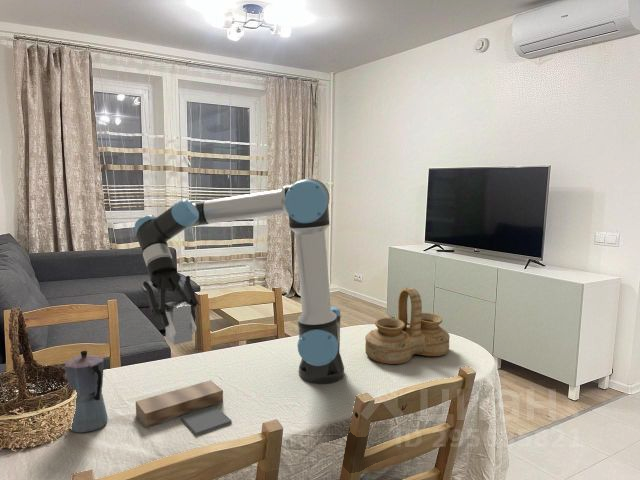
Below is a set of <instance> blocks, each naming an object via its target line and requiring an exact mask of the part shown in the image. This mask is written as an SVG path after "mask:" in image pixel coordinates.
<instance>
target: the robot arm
mask: <svg viewBox="0 0 640 480" xmlns="http://www.w3.org/2000/svg"><path fill="white" fill-rule="evenodd" d="M329 204H330V192H329V189H328V188H327V187H326V185H325V184H324V182H322V181H320V180H318V179H315V178H307V179H306V178H303V179H299V180H297V181H295V182H294V183H292V184H288V185H283V187H282V188H281V189H275V190H270V191H263V192H256V193H250V194H249V193H248V194H243V195H236V196H234V195H233V196H230V197H223V198H217V199H208V200H203V201H193V202H191V201H190V200H188V199H185V198H184V199H181V200H180V201H178V202H176V203H173V205H172V206H170V208H168V209H167V210H165V211H163V212H162V213H160V215H158V216H154V215H145V216H144V217H140V218H138V219H137V220H136V221H135V223H134V231H135V237H136V239H137V241H138V244H139V247H140V250H141V253H142V258H143V260H144V263H145V266H146V270H147V272H148V276H149V278H150V280H149V281H143V283H142V286H141V290H142V291H143V292H144V293H145V296H146V300H147V303H148V306H149V310H150V314H151V316H152V317H156V316H157V317H158V319H160V321H161V323H162V326H163V327H164V328H166V326H167V328H168V331H169V334H170V337H171V338H174V336H175V334H176V331H175V328H174V325H173V322H172V319H171V316H170V313H169V312H166V303H167V302H166V293H167V292H172V294H173V295H175V297H176V298H177V301H180V300H183V301H185V302H186V303H188V304H190V305H191V325H192V335H194V334H195V332H196V331H197V325H196V322H195V320H196V319H197V316H196V314H195V311H194V310H196V308H197V306H198V305H199V302H198V300H197V297H196V293H195V292H194V288H193V285H192V284H191V276H190V275H186V276H181V275H180V274H179V273H178V269H177V267H176V265H175V261H174V259H173V256H172V252H171V250H170V247H169V244H168V242H169V240H171V239H173V238H174V237H175V236H178V234H180V233H182V232H183V231H185V230H187V229H188V230H189V229H191V228H193V227H197V226H205V225H210V224H217V223H223V222H224V223H225V222H232V221H239V220H245V219H247V220H248V219H253V218H261V217H267V216H274V215H281V214H283V215H284V214H286V215H287V216H288V225H289V226H288V227H289V229H290V231H292V232H293V233H294V234H295V243H296V245H295V246H296V256H297V269H298V278H299V289H300V290H299V292H300V301H301V314H300V315H299V316H298V317H297V326H298V337H299V339H298V341H297V351H298V354H299V356H300V358H301V360H300V363H299V365H298V376H299V377H300V378H301V379H302V380H304V381H306V382H309V383H314V384H331V383H335V382H338V381H340V380H342V379H343V378H344V376H345V366H344V363H343V359H342V356H341V351H340V350H341V349H340V347H341V345H340V344H341V319H342V314H341V309H340V308H339V307H338V306H334V305H332V304H331V294H330V293H331V291H330V282H329V281H330V280H329V268H328V256H327V255H328V254H327V242H326V230H327V229H328V228H329V227H330V225H331V224H330V215H329V214H330V213H329ZM180 282H181V284H182V286H183V289H184V291H183V290H182V288H181V287H182V286H181V285H180ZM153 287H154V288H155V289H157V291H158V294H157V295H158V304H157V300H156V297H155V295H154V291H153V290H154V289H153ZM184 292H185V293H184Z"/></svg>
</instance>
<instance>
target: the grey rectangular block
mask: <svg viewBox="0 0 640 480" xmlns="http://www.w3.org/2000/svg"><path fill="white" fill-rule="evenodd" d="M165 303H166V312H169V313H170V316H171V319H172V322H173V325H174V328H175V331H176V334H175V336H174V338H171V337H170V334H169V331H168V328H167V326H166V327H165V338H166V340H167V341H169V342H170V343H171V344H173V345H178V344H183V343H184V344H185V343H187V342H192V340H193V334H192V325H191V305H190V304H188V303H186V302H185V301H183V300H180V301H179V300H176V301H169V302H165Z"/></svg>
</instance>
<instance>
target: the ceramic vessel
mask: <svg viewBox="0 0 640 480" xmlns="http://www.w3.org/2000/svg"><path fill="white" fill-rule="evenodd" d="M408 298H409V299H410V305H411V306H410V322H409V325H408ZM397 301H398V302H397V305H398V306H397V313H398V315H397V316H398V317H397V318H393V317H382V318H378V319H376V320H375V321H374V325H375V326H376V329H372V330H370V331H369V332H368V333H367V334H366V335H365V338H364V340H365V354H366V356H367V357H368V358H370V359H372V360H373V361H375V362H378V363H382V364H389V365H393V364H394V365H395V364H399V365H400V364H404V363H407V362H409V361H410V360H411V359H412V357H413V356H414V355H417V356H425V357H439V356H443V355H446V354H447V353H449V350H450V337H451V336H450V333H449V332H448V330H447V329H445V328H444V327H442V326H440V325H441V324H442V323H443V318H442V317H441V316H440V315H437V314H434V313H430V312H423V311H422V310H423V307H422V306H423V305H422V304H423V303H422V298H421V295H420V293H419V291H418V290H417V289H415V288H413V287H404V288H403V289H402V290H401V291H400V292H399V295H398V300H397Z"/></svg>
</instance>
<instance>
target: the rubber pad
mask: <svg viewBox="0 0 640 480" xmlns="http://www.w3.org/2000/svg"><path fill="white" fill-rule="evenodd" d="M180 420H181V421H182V422H183V423H184V424H185V425H186V426H187V427H188V429H189V430H190V431H191V432H192V433H193V434H194V435H195V436H199V435H202V434H204V433H208V432H210V431H214V430H216V429H219V428H221V427H225V426H228V425H230V424H231V425H232V422H233V420H232V419H231V418H229V416H227V415H226V413H224V412H223V411H222V410H221V409H220V408H219V407H218V406H217V405H216V406H215V405H214V406H211V407H208V408H205V409H201V410H198V411H195V412H192V413H189V414H186V415H183V416H181V417H180Z"/></svg>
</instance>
